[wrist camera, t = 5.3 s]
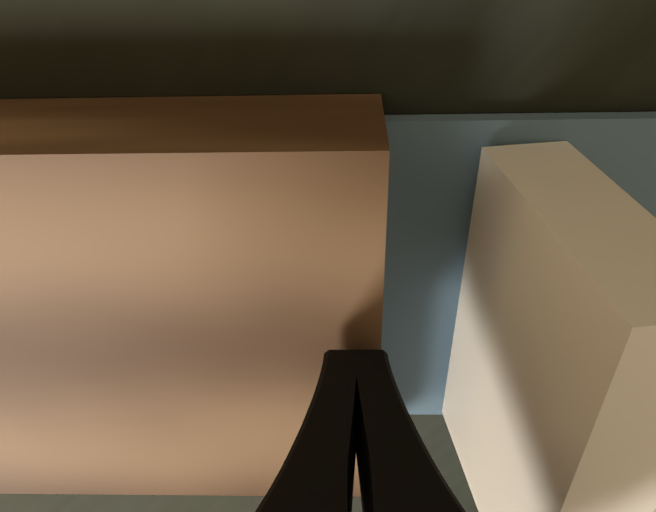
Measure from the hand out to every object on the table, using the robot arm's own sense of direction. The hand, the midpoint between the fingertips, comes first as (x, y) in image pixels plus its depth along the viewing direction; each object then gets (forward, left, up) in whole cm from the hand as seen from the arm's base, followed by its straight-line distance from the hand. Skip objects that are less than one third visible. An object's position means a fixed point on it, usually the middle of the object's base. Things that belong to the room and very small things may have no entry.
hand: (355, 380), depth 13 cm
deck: (0, +6, -3) cm, 7 cm away
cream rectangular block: (0, -3, 0) cm, 3 cm away
